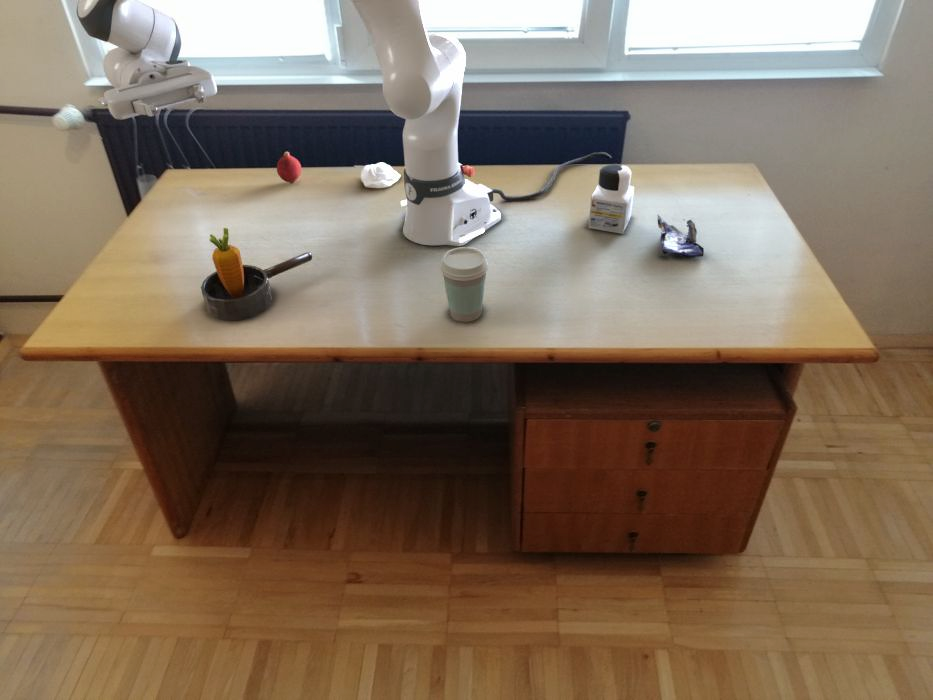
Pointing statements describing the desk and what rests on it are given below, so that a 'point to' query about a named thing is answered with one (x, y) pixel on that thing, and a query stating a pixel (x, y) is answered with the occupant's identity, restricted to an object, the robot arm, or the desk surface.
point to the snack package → (679, 240)
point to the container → (612, 199)
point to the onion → (288, 168)
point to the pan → (233, 309)
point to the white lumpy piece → (378, 175)
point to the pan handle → (288, 265)
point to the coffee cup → (464, 282)
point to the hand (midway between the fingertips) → (178, 104)
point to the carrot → (228, 265)
